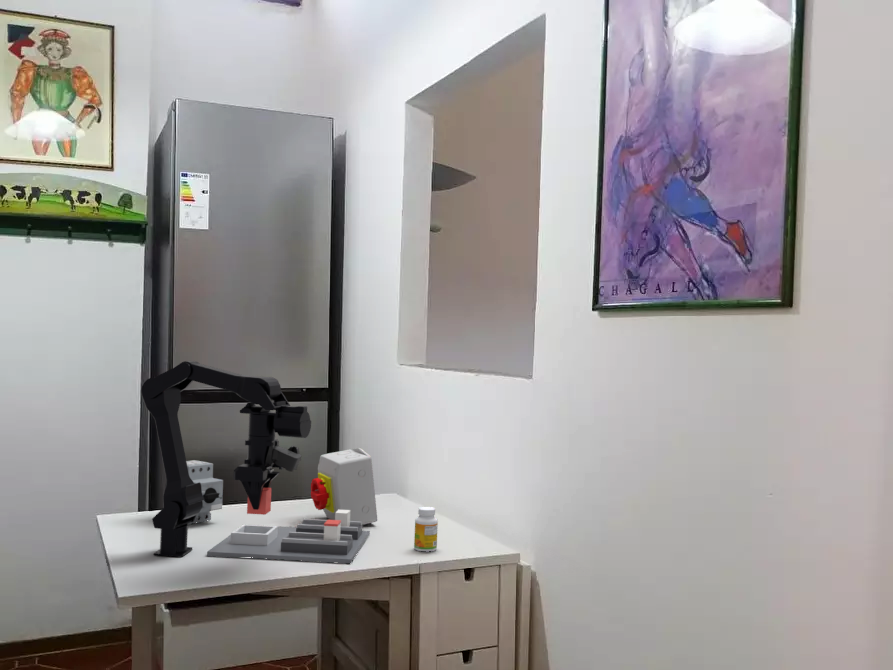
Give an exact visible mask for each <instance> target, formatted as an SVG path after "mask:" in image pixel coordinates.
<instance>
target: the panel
mask: <svg viewBox="0 0 893 670" xmlns="http://www.w3.org/2000/svg"><path fill="white" fill-rule="evenodd" d="M327 520H328V519H314V518H303V520H302V522H301V523H297V525H296V526H279V525H277V526H276V525H264V524H263V525H260V524H241V525H240V526H239V527H237V528H235V529H234V530H232V531H231V532H230V535H228V536H227V537H225V538H224V539H223V540H221V541H220V542H218V543H217V544H216V545H214V546H213V547H211V548H210V549H209V550H208V551H207V552H206V556H207V557H213V556H217V558H219V557H220V558H231V557H251V558H252V557H253V558H267V559H266V560H268V559H285V560H284V561H286V560H302V561H301V562H305V561H313V562H312V563H316V562H315V561H319V562H318V563H323V562H338V563H337V564H341V563H351V562H352V563H353V561H354V560H355V558H356V557H357V555H358V554H359V552H360V551H361V549H362V547H363V546H364V544H365V543H366V541H367V539H368V538H369V537H370V534H371V533H370V532H371V531H370V530H363V526H364V525H362V522H356V521H350V526H349V527H344V526H341V529H340V540H339V541H333V540H324V523H325V522H326V521H327ZM359 550H360V551H359ZM358 551H359V552H358ZM357 553H358V554H357ZM356 554H357V555H356ZM355 556H356V557H355ZM354 557H355V558H354ZM353 559H354V560H353ZM352 560H353V561H352ZM320 561H321V562H320ZM352 563H351V564H352Z"/></svg>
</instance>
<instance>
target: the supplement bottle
mask: <svg viewBox="0 0 893 670" xmlns="http://www.w3.org/2000/svg"><path fill="white" fill-rule="evenodd" d="M417 512H418V516H417V517H416V518H415V520H414V537H413V538H414V539H413V540H414V541H413V548H414V550H415V551H418V552H421V551H426V552H425V553H430V552H429V551H431V552H434V551H436V550H438V549H437V548H438V526H439V521H438V519H437V517H436V516H435V515H436V507H432V506H420V507H418V511H417Z"/></svg>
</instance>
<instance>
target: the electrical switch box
mask: <svg viewBox="0 0 893 670" xmlns="http://www.w3.org/2000/svg"><path fill="white" fill-rule="evenodd" d="M373 472H374V471H373V462H372V456H371V455H370V454H369V453H367V452H366V451H365V450H363V449H362V448H361V447H357V448H350V449H345V450H341V451H335V452H334V451H333V452H329V453H325V454H321V455H320V456H319V461H318V465H317V477H316V478H312V480H311V483H310V498H311V499H312V502H313V504H314V507H315V509H316V510H318V511H321V510H323V512H324V514H325V516H326V518H327V519H328V520H335V513H336V512H337V511H338V509H339V510H350V521H356V522H362V525H363V526H364V525H368V524H372V523H376V522H378V511H377V501H376V493H375V490H376V489H375V482H374V481H375V480H374V473H373Z"/></svg>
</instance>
